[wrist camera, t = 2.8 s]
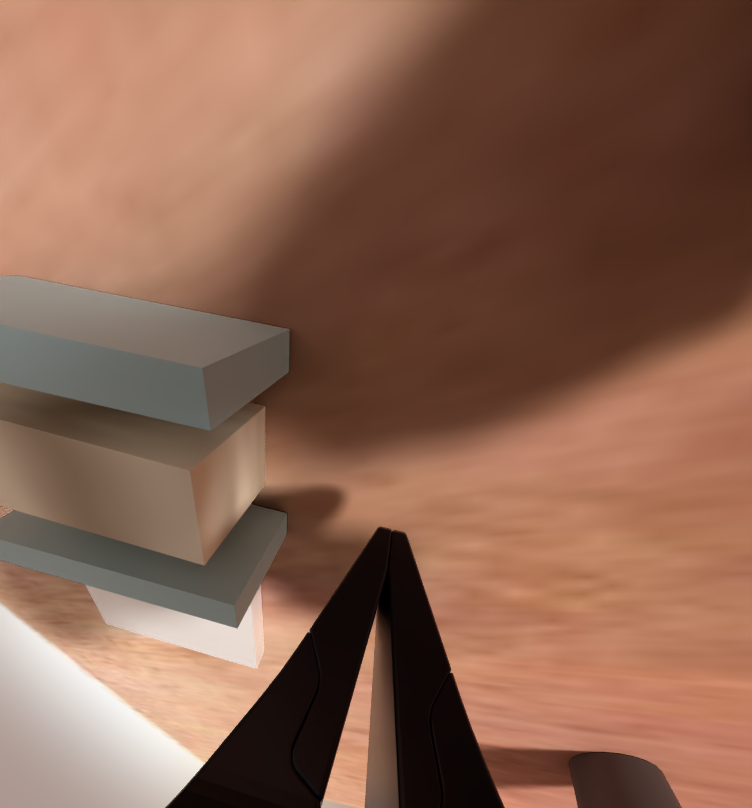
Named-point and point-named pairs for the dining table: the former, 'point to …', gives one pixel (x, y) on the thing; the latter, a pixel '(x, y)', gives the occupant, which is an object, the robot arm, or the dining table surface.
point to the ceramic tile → (187, 627)
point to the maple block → (129, 471)
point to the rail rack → (150, 396)
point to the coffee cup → (619, 782)
